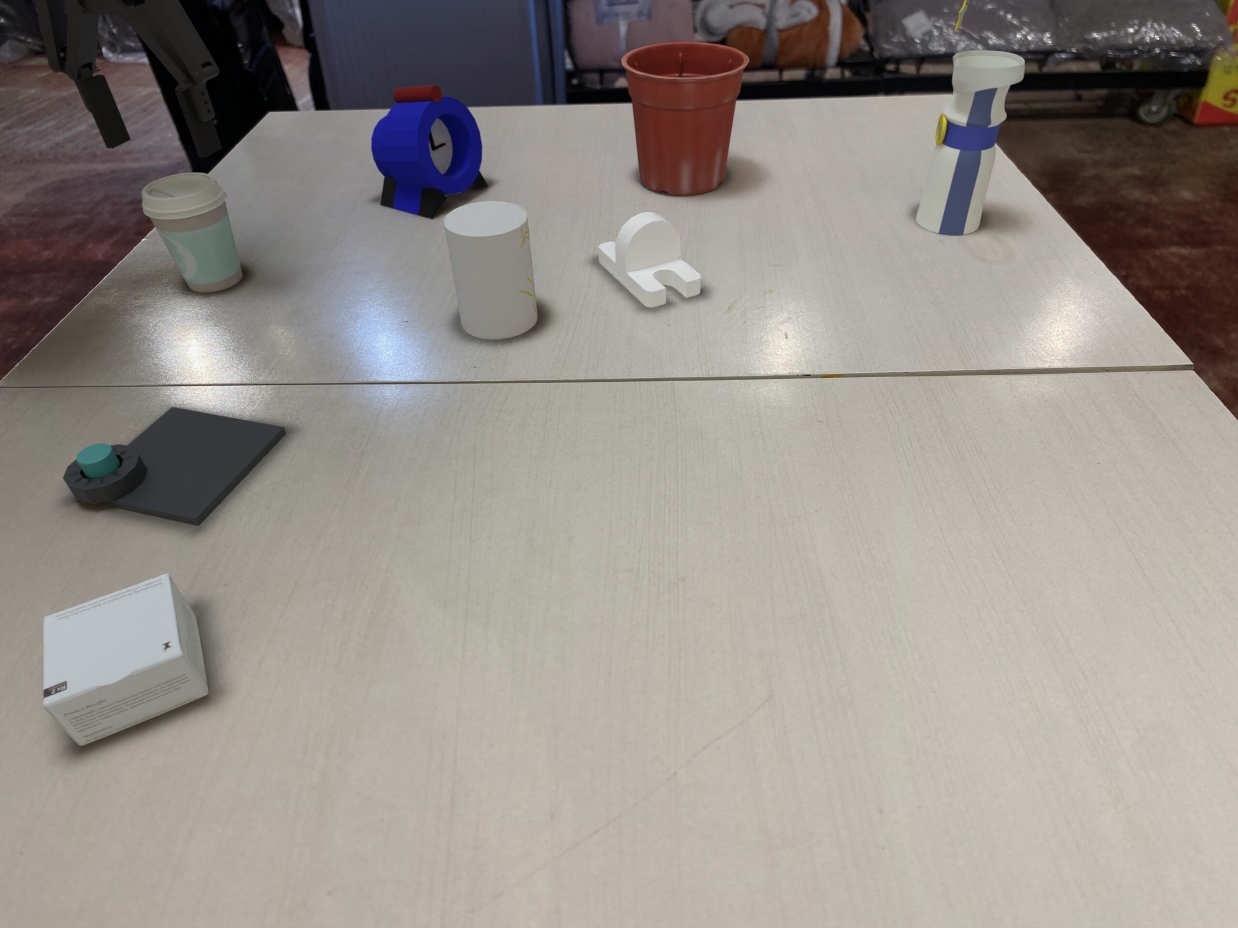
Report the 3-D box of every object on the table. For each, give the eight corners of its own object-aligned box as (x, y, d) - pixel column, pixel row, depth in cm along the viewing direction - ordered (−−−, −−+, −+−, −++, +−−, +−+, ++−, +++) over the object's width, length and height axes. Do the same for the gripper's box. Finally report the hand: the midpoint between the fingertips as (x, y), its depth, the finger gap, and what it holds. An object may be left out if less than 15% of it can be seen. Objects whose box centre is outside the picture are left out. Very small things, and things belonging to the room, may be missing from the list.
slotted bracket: (703, 298, 90) (706, 233, 85) (648, 314, 87) (648, 247, 82) (647, 252, 99) (647, 190, 93) (596, 265, 96) (593, 202, 91)
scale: (65, 508, 66) (47, 482, 64) (171, 417, 75) (158, 391, 74) (195, 538, 63) (180, 510, 61) (288, 439, 73) (278, 412, 71)
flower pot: (708, 213, 107) (715, 84, 96) (602, 190, 113) (598, 67, 103) (757, 170, 117) (768, 50, 107) (657, 152, 124) (658, 36, 113)
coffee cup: (180, 276, 97) (138, 177, 89) (254, 262, 99) (220, 165, 91) (177, 309, 91) (132, 207, 83) (257, 294, 93) (220, 193, 85)
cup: (547, 334, 85) (537, 227, 77) (472, 352, 83) (454, 243, 75) (525, 299, 91) (514, 195, 83) (454, 314, 88) (435, 209, 80)
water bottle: (915, 235, 100) (967, 10, 84) (909, 207, 106) (957, -8, 90) (985, 239, 99) (1052, 11, 82) (975, 210, 105) (1035, -7, 89)
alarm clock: (436, 220, 107) (414, 101, 97) (369, 202, 112) (342, 88, 102) (493, 187, 115) (478, 75, 105) (428, 172, 120) (408, 63, 110)
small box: (199, 616, 57) (171, 568, 54) (214, 700, 52) (184, 653, 49) (77, 661, 55) (40, 614, 51) (80, 755, 50) (39, 709, 46)
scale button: (78, 476, 65) (68, 460, 64) (102, 456, 67) (92, 440, 66) (104, 482, 65) (94, 466, 64) (127, 461, 67) (118, 445, 65)
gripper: (205, -113, 70) (281, 144, 84) (-5, -114, 75) (100, 128, 90) (144, -101, 64) (236, 171, 79) (-78, -103, 70) (47, 152, 84)
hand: (164, 148), depth 84 cm, fingers open, 11 cm apart
